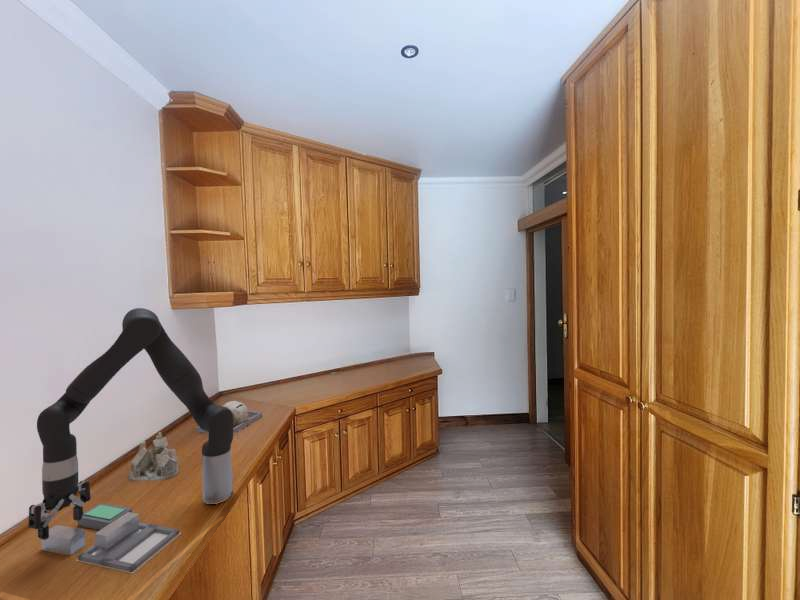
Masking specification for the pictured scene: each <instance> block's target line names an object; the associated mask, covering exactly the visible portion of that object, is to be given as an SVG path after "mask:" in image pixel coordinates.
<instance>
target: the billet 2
mask: <svg viewBox="0 0 800 600" xmlns="http://www.w3.org/2000/svg"><path fill="white" fill-rule="evenodd" d="M139 522H140V514H139V513H136V512H132V513H131V512H127V513H126V514H124V515H123V516H121V517H119V518H118V519H116V520H115V521H113V522H112V523H110V524H109V525H107V526H106V527H104V528H103V529H101V530H98V531H96V532H95V533H94V545H95V554H96V555H100V556H105V557H106V556H107V555H109V554H110V553H111V552H113V551H114V550H116V549H117V548H118V547H120V546H121V545H122V544H124V543H125V542H127V541H128V540H129V539H131V538H132V537H133V536H135V535H136V534H137V533H139Z"/></svg>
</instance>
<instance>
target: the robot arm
mask: <svg viewBox="0 0 800 600" xmlns="http://www.w3.org/2000/svg"><path fill="white" fill-rule="evenodd" d="M121 324H122V325H121V327H122V331H121V333H120V334H119V335H118V337H117V338H116V340H115V341H114V343H113V344H112V345H111V346H110V347H109V348H108V349H107V350H106V351H105V352H104V353H102V354H101V355H100V356H99V357H98V358H96V359H95V360H93V361H92V362H90V364H88V365H87V366H86V367H85V368H84V369H82V371H80V373H79V374H78V375H76V376H75V378H74V379H73V381H71V382H70V383H69V385H67V387H66V389H65V392H63V393H64V394H63V395H61V397H60V398H59V399H57V401H55V402H54V403H53V404H51V405H50V406H48V407H46V408H44V409H43V410H42V411H40V413H39V415H38V416H37V420H36V430H37V434H38V437H39V439H40V442H41V444H42V467H41V477H42V478H41V483H42V486H41V487H42V490H41V491H42V495H43V499H42V502H40V503H38V504H31V505H30V506H29V508H28V522H27V523H28V525H27V527H28V528H29V529H32V530H37V537H38V539H40V540H41V539H42V540H46V539H48V538H49V529H50V525H49V524H50V522H51V521H52V519H53V518H54V517H55V516H56V514H57V513H58V512H60V511H62V510H63V509H65V508H67V507H70V506H71V505H72V506H73V507H72V513H73V514H72V515H73V516H72V519H73V520H74V521H76V522H78V521H79V520H81V519H82V516H83V513H84V505H85V504H86V503H87V502H90V501H91V488H90V482H89V481H85V480H80V481H79V460H78V455H77V454H78V453H77V452H78V451H77V450H78V447H77V438H76V435H74V434H73V433H71V429H70V424H72V423H73V422H75V420H77V419H78V417H80V415H81V414H82V413H83V412H84V411H85V409H86V408H87V406H88V405H89V404H90V402H91V401H92V400H93V399H94V398H95V397H97V395H99V393H100V392H101V391H102V390H103V389H104V388H105V387H106V385H107V384H108V383H109V382H110V381H111V380H112V379H113V377H115V376H116V375H117V373H118V372H119V371H121V369H122V368H123V367H124V366H125V365H126V364H128V363H129V362H130V361H132V359H134V357H136V356H137V355H138V354H139V353H140V352H142V351H143V350H145V352H146V353H147V355H148V356H149V358H150V360H151V362H152V364H153V366H154V368H155V369H156V372H157V373H158V375H159V376H160V378H161V380H162V381H163V383H165V385H166V386H167V387H168V388H169V390H170V391H172V393H173V394H174V395H175V396H176V397H177V399H178V400H179V401H180V402H181V403H182V404H183V405H184V406H185V407H186V408H187V410H188V411H189V413H190V415H191V416H192V418H193V420H194V422H195V423H196V424H197V426H199V427H200V428H201V429H202V430H204V431H207V432H209V433H208V440H207V441H206V442H204V443H203V444H202V446H201V463H202V464H201V466H202V467H201V470H202V471H201V475H202V476H201V477H202V479H201V481H202V503H203V502H205V503H209V504H211V503H217V502H220V501H223V500H225V499H227V498H229V497H230V496H231V497H232V493H231V491H232V490H233V491H234V482H233V481H234V476H233V474H234V472H233V470H234V469H233V468H234V467H233V466H232V444H233V440H234V434H233V429H234V428H235V427H234V417H233V413H232V411H231V410H230V409H228V408H225V407H222V406H223V405H222V406H221V405H218V404H216V403H215V402H214V401H213V400H212V399H211V398H210V397H209V396H208V395H207V393H206V392H205V389H204V385H203V380H202V377H201V375H200V373H199V371H198V370H197V369H196V367H195V366H194V365H193V363H192V362H191V361H190V360H189V359H188V356H186V355H185V354H184V352H182V350H181V349H180V348H179V347H178V346H177V345H176V344H175V343H174V342H173V341H172V340H171V338H170V337H169V335H168V333H167V332H166V330H165V328H164V327H163V325H162V323H161V322H160V319H159V317H158V316H157V314H156V313H155V312H154V311H152V310H150V309H147V308H143V307H135V308H133V309H130V310H129V311H127V313H126V314H125V315H124V316H123V319H122V322H121ZM78 492H79V497H78V496H77V493H78ZM231 497H230V498H231ZM230 498H229V499H230ZM49 511H50V512H49Z"/></svg>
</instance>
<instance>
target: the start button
mask: <svg viewBox="0 0 800 600" xmlns="http://www.w3.org/2000/svg"><path fill="white" fill-rule="evenodd" d="M98 505H99V504H98ZM124 511H125V509H120V508H115V507H109V506H104V505H99V506H98V507H96V508H94V509H93V510H91V511H89V512H87V511H86V512H87V513H86V514H84V515H85V516H88V517H93V518H99V519H104V520H109V521H110V520H112V519H113V518H115V517H116V516H118V515H120V514H121V513H123V512H124Z"/></svg>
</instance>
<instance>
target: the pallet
mask: <svg viewBox="0 0 800 600" xmlns="http://www.w3.org/2000/svg"><path fill="white" fill-rule="evenodd" d="M181 533H182V532H180V529H177V528H172V527H166V526H162V525H156V524H152V523H151V524H150V523H147V522H140V521H139V533H137V534H136V535H135V536H133V537H132V538H131V539H129V540H128V541H127V542H125V543H124V544H122V545H121V546H120V547H118V548H117V549H116V550H114V551H113V552H111V553H110V554H109V555H107V556H106V557H105V556H100V555H96V554H95V544H94V545H92V546H90V547H89V548H87V549H85V551H83V552H82V553H80V554H79V555H77V559H76V560H75V561H76V562H80V563H86V564H89V565H93V566H96V567H101V568H102V567H103V568H106V569H110V570H116V571H120V572H124V573H129V574H134V573H135V572H136V571H138V570H139V569H140V568H141V567H142V566H144V565H145V564H146V563H147V562H148V561H149V560H151V559H152V558H154V556H156V555H157V554H158V553H159V552H161V551H162V550H163V549H164V548H165V547H166V546H168V545H169V544H170V543H171V542H173V541H174V540H175V539H176V538H178V536H180V535H181Z"/></svg>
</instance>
